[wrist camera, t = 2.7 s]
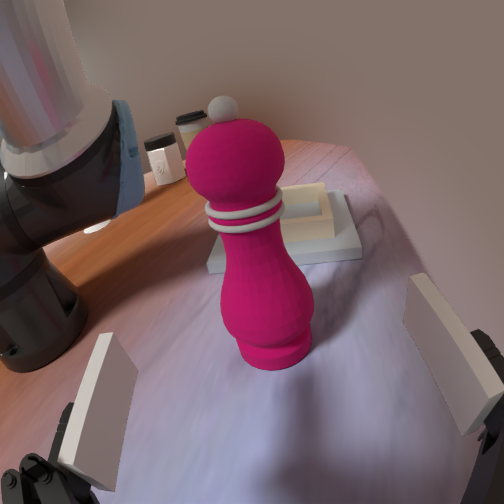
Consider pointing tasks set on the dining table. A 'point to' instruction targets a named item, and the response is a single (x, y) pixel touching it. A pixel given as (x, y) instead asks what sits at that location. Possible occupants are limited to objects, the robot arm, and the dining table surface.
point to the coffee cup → (191, 126)
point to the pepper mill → (251, 237)
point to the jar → (165, 159)
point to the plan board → (309, 228)
